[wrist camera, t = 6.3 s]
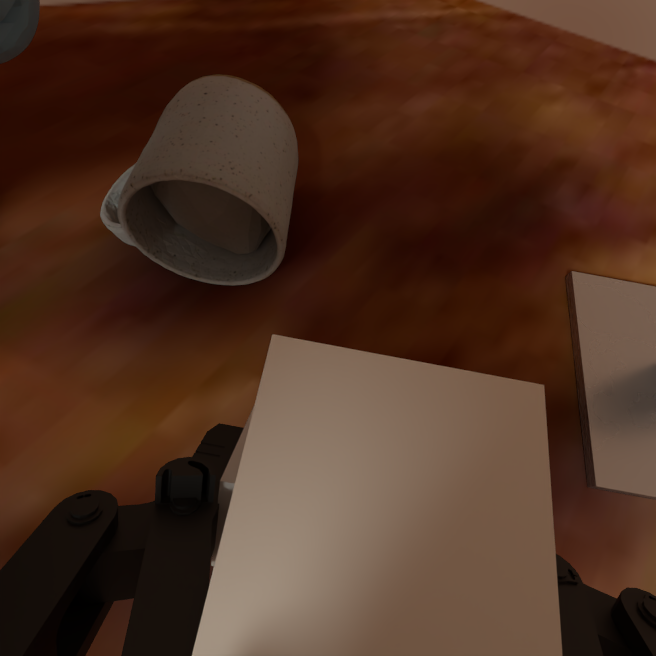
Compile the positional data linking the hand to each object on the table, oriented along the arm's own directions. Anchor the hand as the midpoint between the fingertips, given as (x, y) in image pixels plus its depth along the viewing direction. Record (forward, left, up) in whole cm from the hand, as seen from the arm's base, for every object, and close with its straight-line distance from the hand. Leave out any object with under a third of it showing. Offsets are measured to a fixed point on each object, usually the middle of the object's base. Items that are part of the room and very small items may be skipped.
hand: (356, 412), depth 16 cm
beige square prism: (+3, -2, -4) cm, 5 cm away
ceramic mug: (-14, -3, -4) cm, 15 cm away
